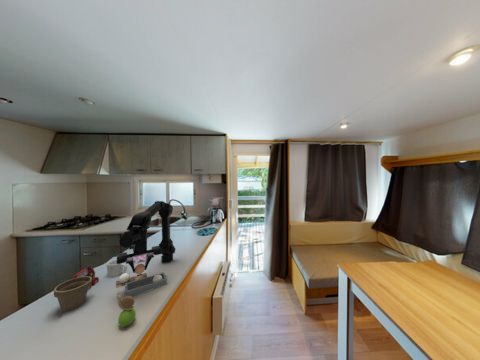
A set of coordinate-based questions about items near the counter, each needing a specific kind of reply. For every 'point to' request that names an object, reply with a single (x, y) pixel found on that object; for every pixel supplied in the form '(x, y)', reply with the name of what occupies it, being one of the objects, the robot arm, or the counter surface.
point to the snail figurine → (126, 310)
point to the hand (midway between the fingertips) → (139, 271)
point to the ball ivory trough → (157, 278)
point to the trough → (146, 287)
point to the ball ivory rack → (124, 278)
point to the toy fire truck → (90, 273)
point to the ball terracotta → (139, 268)
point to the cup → (115, 268)
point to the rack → (131, 280)
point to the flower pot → (72, 292)
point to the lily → (140, 258)
